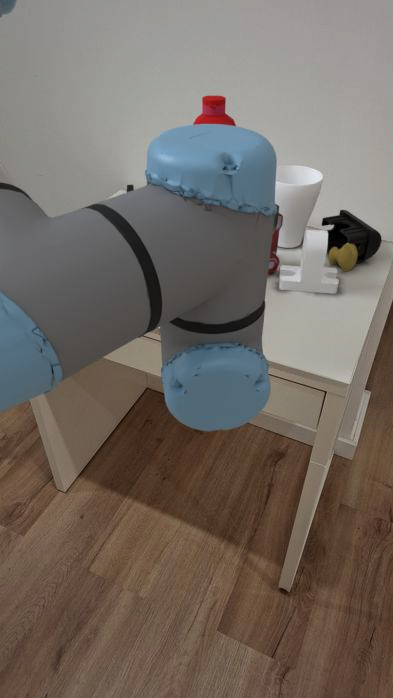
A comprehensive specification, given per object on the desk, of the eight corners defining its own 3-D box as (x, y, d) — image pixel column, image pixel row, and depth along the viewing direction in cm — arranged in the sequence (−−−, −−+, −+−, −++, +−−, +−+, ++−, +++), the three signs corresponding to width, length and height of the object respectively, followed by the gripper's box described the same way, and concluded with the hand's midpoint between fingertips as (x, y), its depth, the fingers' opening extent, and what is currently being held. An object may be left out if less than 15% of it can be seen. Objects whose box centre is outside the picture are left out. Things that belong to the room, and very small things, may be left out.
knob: (359, 266, 90) (365, 242, 86) (343, 276, 87) (348, 251, 84) (338, 257, 92) (343, 233, 89) (321, 266, 90) (326, 242, 86)
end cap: (377, 261, 91) (385, 228, 87) (344, 268, 89) (352, 234, 85) (346, 238, 98) (353, 207, 94) (316, 244, 96) (322, 212, 92)
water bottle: (235, 212, 108) (241, 88, 92) (231, 234, 100) (237, 102, 84) (195, 210, 110) (194, 87, 94) (187, 231, 101) (185, 101, 85)
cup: (312, 255, 93) (324, 187, 84) (258, 251, 94) (264, 183, 86) (312, 231, 101) (323, 166, 92) (262, 227, 102) (268, 163, 94)
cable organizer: (337, 293, 83) (348, 241, 76) (279, 289, 84) (285, 237, 77) (334, 277, 87) (345, 226, 80) (279, 274, 88) (285, 222, 81)
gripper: (69, 323, 46) (90, 225, 62) (326, 309, 47) (280, 217, 63) (54, 253, 41) (80, 166, 57) (340, 239, 42) (286, 159, 59)
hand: (185, 193), depth 60 cm, fingers open, 13 cm apart
